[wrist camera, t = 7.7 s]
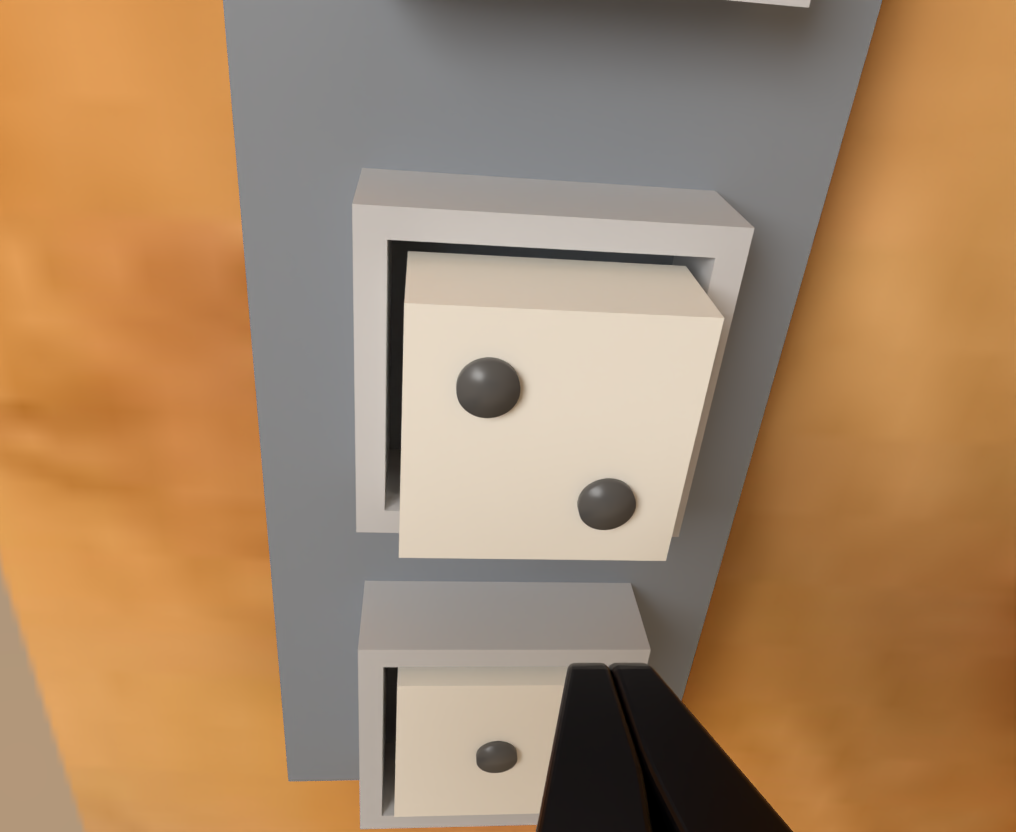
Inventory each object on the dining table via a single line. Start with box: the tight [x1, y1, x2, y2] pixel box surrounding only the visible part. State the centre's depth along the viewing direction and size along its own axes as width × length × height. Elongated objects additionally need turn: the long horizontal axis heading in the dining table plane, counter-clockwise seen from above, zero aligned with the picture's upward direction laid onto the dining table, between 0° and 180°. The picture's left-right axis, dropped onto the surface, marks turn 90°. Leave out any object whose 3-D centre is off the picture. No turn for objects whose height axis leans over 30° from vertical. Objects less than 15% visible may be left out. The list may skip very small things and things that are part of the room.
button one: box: [394, 667, 568, 817], centre depth 19 cm, size 4×4×2 cm
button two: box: [399, 251, 724, 561], centre depth 13 cm, size 4×4×2 cm
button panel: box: [223, 0, 882, 829], centre depth 15 cm, size 26×10×4 cm, turn 175°
